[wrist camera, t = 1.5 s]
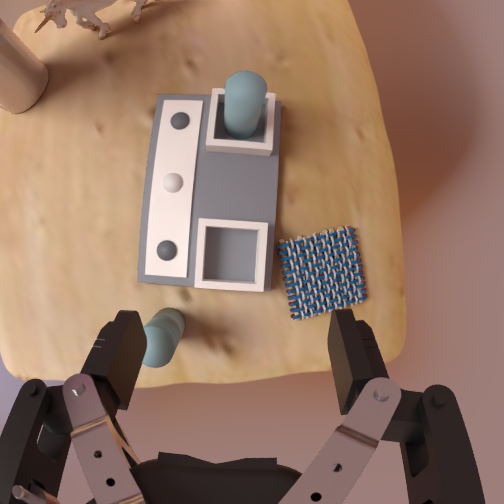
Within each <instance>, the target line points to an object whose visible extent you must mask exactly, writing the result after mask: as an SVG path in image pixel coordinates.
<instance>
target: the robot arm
mask: <svg viewBox="0 0 504 504" xmlns="http://www.w3.org/2000/svg"><path fill="white" fill-rule="evenodd" d="M48 77H49V73H48V70H47V68H46V67H45V65H44V64H43V63H42V62H41V61H40V60H39V59H38V58H37V57H36V56H35V55H34V54H33V53H32V52H31V50H30V49H29V48H28V47H27V46H26V45H25V44H24V43H23V42H22V41H21V40H20V39H19V38H18V37H17V36H16V34H15V33H14V32H13V31H12V30H11V29H10V28H9V27H8V26H7V25H6V24H5V23H4V22H3V21H2V20H1V18H0V108H2V109H3V108H4V109H6V110H7V111H9V112H11V113H14V114H17V113H21V112H24V111H25V110H27V109H29V108H30V107H31V106H32V105H34V104H35V102H36V101H37V100H38V99H39V98H40V96H41V95H42V94H43V92H44V90H45V88H46V85H47V82H48ZM146 350H147V337H146V334H145V331H144V328H143V325H142V322H141V319H140V316H139V313H138V312H137V311H129V310H120V311H119V312H118V314H117V316H116V318H115V320H114V322H111V321H109V322H108V323H107V324H106V325H105V326H104V327H103V328H102V329H101V331H100V333H99V335H98V337H97V340H96V341H95V343H94V345H93V347H92V349H91V351H90V353H89V355H88V357H87V359H86V361H85V363H84V366H83V368H82V370H81V372H80V374H75V375H73V376H71V377H69V378H68V379H67V380H66V381H65V383H64V385H60V386H51V387H47V386H46V385H45V383H44V382H43V381H42V380H40V379H31V380H29V381H27V382H26V383H25V384H24V385H23V386H22V388H21V389H20V391H19V394H18V396H17V398H16V400H15V402H14V405H13V407H12V409H11V412H10V414H9V416H8V419H7V422H6V424H5V426H4V429H3V431H2V434H1V437H0V504H60V503H59V501H58V500H57V496H58V491H59V486H60V483H61V478H62V474H63V470H64V466H65V462H66V459H67V455H68V451H69V448H70V444H71V441H72V442H73V445H74V448H75V451H76V454H77V457H78V459H79V462H80V465H81V467H82V470H83V472H84V475H85V477H86V480H87V482H88V485H89V487H90V489H91V491H92V494H93V496H94V498H93V499H92V500H91V501H89V502H87V503H86V504H342V503H343V502H344V500H345V498H346V497H347V496H348V494H349V493H350V491H351V490H352V488H353V487H354V485H355V483H356V482H357V480H358V479H359V477H360V475H361V474H362V472H363V471H364V469H365V467H366V466H367V464H368V462H369V460H370V459H371V457H372V455H373V454H374V452H375V450H376V448H377V446H378V443H379V441H380V440H385V441H393V442H399V443H400V448H401V454H402V459H403V465H404V471H405V478H406V484H407V491H408V498H409V504H485V499H484V494H483V490H482V485H481V481H480V477H479V473H478V469H477V465H476V461H475V458H474V454H473V450H472V447H471V443H470V440H469V437H468V433H467V430H466V427H465V424H464V421H463V418H462V415H461V412H460V409H459V406H458V403H457V400H456V397H455V395H454V393H453V392H452V391H451V390H450V389H449V388H447V387H446V386H443V385H432V386H430V387H428V388H427V389H426V390H425V391H424V393H422V392H414V391H407V390H403V389H400V388H399V386H398V385H397V384H396V383H395V382H394V381H392V380H390V379H389V376H388V373H387V370H386V368H385V365H384V362H383V359H382V356H381V353H380V350H379V348H378V345H377V342H376V340H375V336H374V334H373V331H372V328H371V327H370V326H369V325H368V324H367V323H366V322H365V321H364V320H358V321H356V320H355V317H354V314H353V311H352V309H351V308H348V309H333V310H332V314H331V320H330V327H329V333H328V351H329V356H330V361H331V366H332V371H333V376H334V380H335V386H336V391H337V397H338V402H339V407H340V413H341V415H346V414H347V416H346V418H345V419H344V421H343V422H342V424H341V425H340V426H339V427H337V428H336V429H335V431H334V432H333V433H332V435H331V436H330V438H329V439H328V441H327V442H326V443H325V445H324V446H323V448H322V449H321V450H320V452H319V453H318V455H317V456H316V457H315V459H314V460H313V461H312V463H311V464H310V465H309V466H308V468H307V469H306V470H305V472H304V473H303V474H302V473H300V472H298V471H297V470H294V469H292V468H290V467H286V466H283V465H278V464H277V458H245V459H240V460H235V461H230V462H224V463H218V464H214V463H210V462H207V461H204V460H200V459H197V458H194V457H191V456H188V455H182V454H173V453H164V452H159V454H158V459H152V460H148V461H145V462H142V463H141V462H140V460H139V458H138V457H137V456H136V454H135V452H134V451H133V449H132V447H131V445H130V443H129V441H128V439H127V437H126V435H125V433H124V431H123V429H122V427H121V425H120V423H119V420H118V418H117V417H116V413H117V410H118V409H121V410H127V409H128V406H129V402H130V399H131V396H132V393H133V390H134V386H135V383H136V380H137V377H138V374H139V371H140V368H141V365H142V362H143V359H144V356H145V353H146ZM42 424H43V428H42V431H41V434H40V437H39V440H38V443H37V439H38V436H39V432H40V430H41V427H42Z"/></svg>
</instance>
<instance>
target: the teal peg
mask: <svg viewBox="0 0 504 504" xmlns="http://www.w3.org/2000/svg"><path fill="white" fill-rule="evenodd" d="M185 326H186V323H185V319H184V317H183V315H182V314H181V313H180V312H179V311H178V310H176V309H173V308H164V309H162V310H160V311H159V312H158V313H157V314H156V315H155V316H154V317H153V318H152V319H151V320H150V321H149V322H148V323H147V324H146V325H145V326H144V327H143V328H144V331H145V334H146V337H147V350H146V353H145V356H144V359H143V362H142V363H143V364H144V365H146V366H148V367H153V368H159V367H162V366H165V365H166V364H168V363H169V362H170V360H171V359H172V357H173V354H174V352H175V350H176V348H177V345H178V343H179V341H180V339H181V337H182V335H183V332H184V330H185Z"/></svg>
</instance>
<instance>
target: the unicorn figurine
mask: <svg viewBox="0 0 504 504" xmlns="http://www.w3.org/2000/svg"><path fill="white" fill-rule="evenodd" d="M116 1H117V0H49V1H48V3H47V5H46V6H47V7H46V8H45V9H44V10H42V11H40V13H41V12H43V13H46V14H45V17H46V18H45V19H44V21H42V23H41V24H40V25H39V27H38V28H37V29H36V31H35V33H36V32H38V31H39V30H40V29H41V28H42V27H43V26H44V25H45V24H46V23H47V22H48V21H49V20H50V19H51V20H53V21H54V22H55V23H56V25H57V28H59V29H60V28H64V27H66V25H67V20H66V19H65V13H66V8H67V9H69V10H70V11H71V13H72V14H73V15H74V16H76V20H75V21H76V23H77V24H78V25H80V26H82V27H83V28H85V29H90V30H93V29H96V27H95V25H97V26H99V27H100V33H99V36H98V39H103V38H105V37H106V33H105V32H110V31H111V30H110V26H109V24H108V23H102V21H101V20H100V19H99V18H98V17H97V16H96V15H95V12H96V11H99V10H102V9H104V8H107V7H109V6H110V5H112V4H113V3H115V2H116ZM132 1H135V2H137V4H136V5H135V7H134V9H133V12H132V14H131V17H132V20H133V21H134V22H135V23H138V22H139V21H140V14H141V13H142V10H141V9H142V7H143V5H142V4H146V3H147V1H148V0H132ZM156 1H163V0H156ZM82 17H83V18H86V19H87V21H82ZM94 24H95V25H94Z"/></svg>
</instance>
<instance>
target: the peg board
mask: <svg viewBox="0 0 504 504" xmlns="http://www.w3.org/2000/svg"><path fill="white" fill-rule="evenodd" d="M281 105H282V102H280V101H275V93H268V92H267V84H266V82H265V80H264V79H263V78H262V77H261V76H260V75H258V74H257V73H254V72H251V71H240V72H237V73H234V74H233V75H231V76H230V77H229V78H228V80H227V81H226V84H225V89H223V88H212V95H182V94H158V99H157V105H156V110H155V116H154V121H153V128H152V134H151V140H150V147H149V154H148V161H147V169H146V177H145V186H144V195H143V205H142V216H141V228H140V242H139V259H138V282H144V283H156V284H168V285H181V286H194V288H208V289H224V290H240V291H258V292H263V291H271V279H272V265H273V250H274V235H275V219H276V203H277V185H278V167H279V148H280V127H281Z"/></svg>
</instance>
